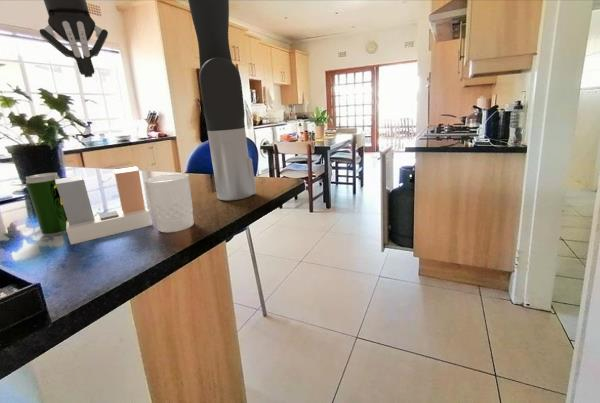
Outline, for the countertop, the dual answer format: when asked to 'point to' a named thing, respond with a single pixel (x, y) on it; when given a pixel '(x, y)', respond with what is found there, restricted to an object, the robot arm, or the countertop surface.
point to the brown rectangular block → (129, 189)
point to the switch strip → (108, 225)
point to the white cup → (171, 201)
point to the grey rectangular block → (75, 199)
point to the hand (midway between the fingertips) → (88, 76)
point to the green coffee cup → (47, 204)
